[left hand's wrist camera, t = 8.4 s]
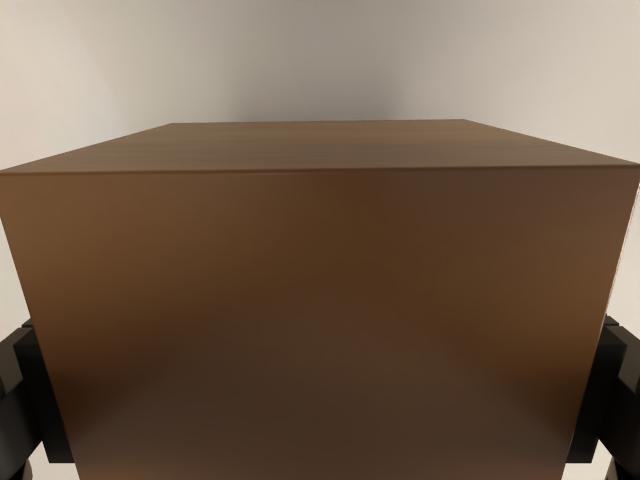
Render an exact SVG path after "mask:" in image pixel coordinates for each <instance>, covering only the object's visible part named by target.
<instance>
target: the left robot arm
mask: <svg viewBox="0 0 640 480" xmlns="http://www.w3.org/2000/svg"><path fill="white" fill-rule="evenodd" d="M598 440H600V441H601V442H602V443H603V445H604V446H605V447H606V449H607V450H608V451H609V452H610V454H611V455H612V459H611V462H610V465H609V468H608V471H607V474H606V477H605V480H640V340H639V339H638V338H637V337H635V336H634V335H633V334H632V333H630V332H629V331H628V330H627V329H625V328H624V327H623V326H619V323H618V322H617V321H615V320H614V319H613V318H612V317H610V316H607V313H606V315H605V319H604V323H603V326H602V330H601V334H600V338H599V341H598V345H597V349H596V352H595V356H594V360H593V364H592V367H591V371H590V375H589V378H588V382H587V386H586V389H585V393H584V397H583V401H582V404H581V408H580V412H579V415H578V419H577V423H576V427H575V430H574V434H573V438H572V441H571V445H570V449H569V453H568V456H567V460H566V463H591V462H592V459H593V456H594V453H595V449H596V446H597V443H598ZM41 441H42V442H43V445H44V448H45V451H46V455H47V458H48V461H49V463H75V462H74V459H73V455H72V452H71V449H70V445H69V442H68V439H67V435H66V432H65V429H64V426H63V422H62V419H61V416H60V412H59V409H58V406H57V402H56V399H55V396H54V392H53V389H52V386H51V383H50V379H49V376H48V373H47V369H46V366H45V363H44V359H43V356H42V353H41V350H40V346H39V343H38V340H37V336H36V333H35V330H34V326H33V323H32V320H31V318H30V319H29V320H27V321H26V322H25V323H24V324H22V327H21V328H18V329H16V330H15V331H14V332H13V333H11V334H10V335H9V336H8V337H6V338H5V339H4V340H3V341H1V342H0V480H32V477H33V475H32V469H31V465H30V462H29V459H28V458H29V456H30V455H31V454H32V453H33V451H34V450H35V449H36V447H37V446H38V445H39V444H40V442H41Z"/></svg>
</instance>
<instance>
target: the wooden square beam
mask: <svg viewBox="0 0 640 480" xmlns="http://www.w3.org/2000/svg"><path fill="white" fill-rule="evenodd" d="M639 189H640V164H638V163H634V162H630V161H627V160H623V159H619V158H615V157H611V156H607V155H603V154H599V153H595V152H591V151H587V150H583V149H579V148H575V147H571V146H567V145H563V144H559V143H555V142H552V141H548V140H544V139H540V138H536V137H532V136H528V135H524V134H520V133H516V132H512V131H508V130H504V129H500V128H496V127H492V126H488V125H484V124H480V123H476V122H473V121H469V120H465V119H450V120H375V121H300V122H225V123H171V124H167V125H163V126H160V127H156V128H153V129H149V130H145V131H142V132H138V133H134V134H131V135H127V136H123V137H120V138H116V139H113V140H109V141H105V142H102V143H98V144H94V145H91V146H87V147H83V148H80V149H76V150H73V151H69V152H65V153H62V154H58V155H54V156H51V157H47V158H44V159H40V160H36V161H33V162H29V163H25V164H22V165H18V166H14V167H11V168H7V169H4V170H0V218H1V221H2V224H3V227H4V231H5V234H6V237H7V241H8V244H9V247H10V251H11V254H12V257H13V260H14V264H15V267H16V270H17V274H18V277H19V280H20V284H21V287H22V290H23V293H24V297H25V300H26V303H27V307H28V310H29V313H30V317H31V320H32V323H33V326H34V330H35V333H36V336H37V340H38V343H39V346H40V350H41V353H42V356H43V359H44V363H45V366H46V369H47V373H48V376H49V379H50V383H51V386H52V389H53V392H54V396H55V399H56V402H57V406H58V409H59V412H60V416H61V419H62V422H63V426H64V429H65V432H66V435H67V439H68V442H69V445H70V449H71V452H72V455H73V459H74V462H75V465H76V468H77V472H78V475H79V478H80V480H561V479H562V475H563V471H564V467H565V464H566V460H567V456H568V453H569V449H570V445H571V441H572V438H573V434H574V430H575V427H576V423H577V419H578V415H579V412H580V408H581V404H582V401H583V397H584V393H585V389H586V386H587V382H588V378H589V375H590V371H591V367H592V364H593V360H594V356H595V352H596V349H597V345H598V341H599V338H600V334H601V330H602V326H603V323H604V319H605V315H606V312H607V308H608V304H609V300H610V297H611V293H612V289H613V286H614V282H615V278H616V274H617V271H618V267H619V263H620V260H621V256H622V252H623V248H624V245H625V241H626V237H627V234H628V230H629V226H630V222H631V219H632V215H633V211H634V208H635V204H636V200H637V196H638V193H639Z"/></svg>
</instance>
